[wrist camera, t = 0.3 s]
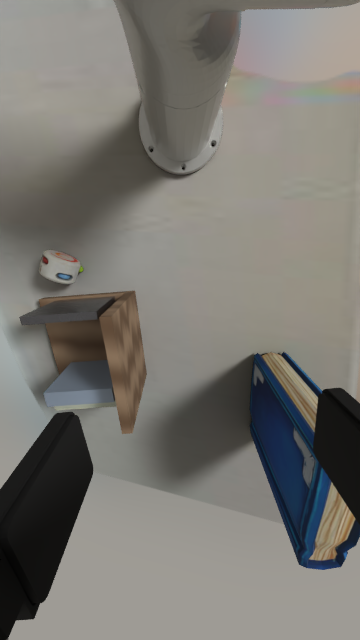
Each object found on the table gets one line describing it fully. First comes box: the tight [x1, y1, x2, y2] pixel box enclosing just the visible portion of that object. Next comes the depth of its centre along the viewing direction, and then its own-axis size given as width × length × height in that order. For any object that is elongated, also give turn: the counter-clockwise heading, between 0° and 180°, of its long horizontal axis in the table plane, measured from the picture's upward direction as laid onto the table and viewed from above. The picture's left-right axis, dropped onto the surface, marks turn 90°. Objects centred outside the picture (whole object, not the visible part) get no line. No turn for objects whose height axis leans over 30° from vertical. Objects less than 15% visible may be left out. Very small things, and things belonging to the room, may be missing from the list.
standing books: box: [43, 360, 117, 410], centre depth 42 cm, size 5×11×10 cm, turn 94°
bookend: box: [19, 296, 116, 325], centre depth 37 cm, size 1×11×10 cm, turn 94°
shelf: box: [39, 291, 147, 434], centre depth 38 cm, size 18×18×16 cm
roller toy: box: [39, 250, 83, 284], centre depth 39 cm, size 4×6×6 cm
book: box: [250, 352, 360, 570], centre depth 39 cm, size 22×7×25 cm, turn 2°
